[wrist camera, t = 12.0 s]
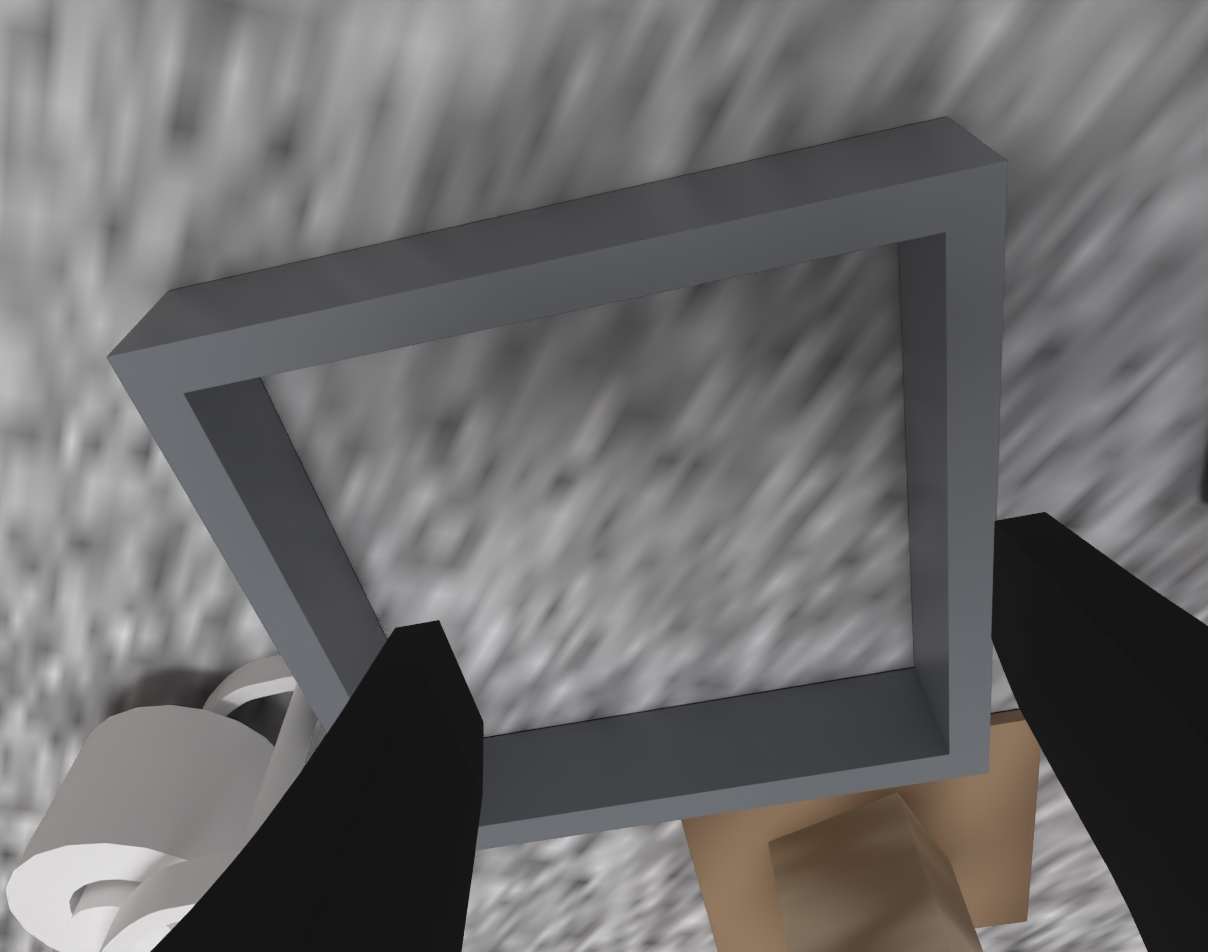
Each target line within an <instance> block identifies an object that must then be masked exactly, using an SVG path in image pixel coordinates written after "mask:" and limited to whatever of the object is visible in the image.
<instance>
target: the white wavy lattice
mask: <svg viewBox="0 0 1208 952" xmlns="http://www.w3.org/2000/svg"><path fill="white" fill-rule="evenodd" d="M287 691H294V692H293V695H292V698H291V701H290V704H289V707H288V710H287V712H286V715H285V718H284V721H283V724H282V727H281V730H280V733H279V736H278V739H277V742H276V745H275V747H274V746H273V745H272V744H271V743H270V742H269V741H268V740H267V739H266V738H265V737H263V736H262V735H260V734H259V733H257V732H255V731H254V730H252V729H250V728H249V727H247V726H246V725H244V724H242V723H241V722H239V721H236V720H233V719H231V718H228V717H226V716H227V715H228V714H229V713H230V712H232V711H233V710H234V709H236V708H237V707H239V706H240V705H242V704H244V703H245V702H248V701H250V700H253V699H256V698H261V697H265V696H269V695H274V694H278V693H283V692H287ZM317 721H318V718H317V716H316V714H315V713H314V711H313V709H312V708H311V706H310V704H309V703H308V701H307V699H306V697H305V696H304V694H303V692H302V691H301V689H300V687H299V685H298V684H297V682H296V680H295V679H294V677H293V675H292V673H291V672H290V670H289V668H288V667H287V665H286V663H285V662H284V660H283V658H282V656H281V655H280V654H279V655H275V656H270V657H266V658H261V659H257V660H254V661H252V662H249V663H247V664H245V665H243V666H242V667H240V668H239V669H237V670H236V671H234V672H233V673H231V674H230V675H229V676H228V677H227V678H225V679H224V680H223V681H222V683H221V684H220V685H219V686H218V687H217V688H216V689H215V690H214V691H213V692H212V694H211V695H210V696H209V697H208V699H207V701H206V703H205V704H204V706H203V708H202V709H196V708H189V707H182V706H175V705H164V706H149V707H137V708H134V709H131V710H128V711H125V712H122V713H119V714H116V715H113V716H110V717H109V718H108V719H106V720H105V721H104V722H102V723H101V724H100V725H99V726H97V727H96V728H95V729H94V730H92V731H91V733H90V734H89V736H88V738H87V740H86V742H85V743H84V745H83V747H82V749H81V751H80V752H79V754H78V756H77V758H76V760H75V761H74V763H73V765H72V767H71V769H70V770H69V772H68V774H67V776H66V778H65V779H64V781H63V783H62V785H61V787H60V788H59V790H58V792H57V794H56V796H55V797H54V799H53V801H52V803H51V805H50V806H49V808H48V810H47V812H46V814H45V815H44V817H43V819H42V821H41V823H40V824H39V826H38V828H37V830H36V832H35V833H34V835H33V837H32V839H31V841H30V842H29V844H28V846H27V848H26V850H25V851H24V853H23V855H22V857H21V859H20V861H19V862H18V864H17V866H16V868H15V870H14V872H13V874H12V876H11V878H10V881H9V883H8V885H7V887H6V893H7V898H8V903H9V908H10V911H11V912H12V913H13V914H14V916H15V917H16V918H17V920H18V921H19V922H20V923H21V925H22V926H23V927H24V928H25V930H26V931H28V932H29V933H31V934H32V935H34V936H35V937H36V938H38V939H39V940H41V941H42V942H44V943H45V944H46V945H48V946H49V947H51V948H53V951H52V952H150V951H151V950H152V949H153V948H154V947H155V946H156V945H157V944H158V943H159V942H160V941H161V940H162V939H163V938H164V937H165V936H166V935H167V934H168V933H169V932H170V931H171V930H172V929H173V928H174V927H175V925H176V924H177V923H178V922H179V921H180V920H181V919H182V918H183V917H184V916H185V915H186V914H187V913H188V912H189V911H190V910H191V909H192V908H193V906H194V905H195V904H196V903H197V902H198V901H199V900H200V899H201V898H202V896H203V895H204V894H205V893H206V892H207V891H208V889H209V888H210V887H211V886H212V885H213V884H214V882H215V881H216V880H217V879H218V878H219V877H220V876H221V874H222V873H223V872H224V871H225V870H226V869H227V867H228V866H229V865H230V864H231V863H232V862H233V860H234V859H235V858H236V857H237V856H238V854H239V853H240V852H241V851H242V849H243V848H244V847H245V846H246V844H247V843H248V842H249V841H250V839H251V838H252V837H253V836H254V834H255V833H256V832H257V831H258V829H259V828H260V827H261V825H262V824H263V823H264V821H265V820H266V819H267V817H268V816H269V815H270V813H271V812H272V810H273V809H274V808H275V806H276V805H277V804H278V802H279V801H280V800H281V798H282V797H283V795H284V794H285V793H286V791H287V790H288V789H289V787H290V786H291V785H292V783H293V782H294V780H295V779H296V778H297V776H298V775H299V774H300V772H301V771H302V769H303V767H304V764H305V760H306V757H307V754H308V750H309V747H310V744H311V740H312V737H313V734H314V731H315V727H316V724H317Z"/></svg>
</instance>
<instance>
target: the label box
mask: <svg viewBox="0 0 1208 952" xmlns="http://www.w3.org/2000/svg"><path fill="white" fill-rule="evenodd" d="M768 845H769V850H770V855H771V860H772V866H773V871H774V876H775V882H776V887H777V892H778V898H779V903H780V908H781V914H782V919H783V924H784V929H785V935H786V940H787V945H788V951H789V952H983V950H982V947H981V945H980V942H979V939H978V936H977V934H976V931H975V928H974V925H973V923H972V920H971V917H970V914H969V912H968V909H967V906H966V903H965V901H964V898H963V895H962V893H961V890H960V887H959V884H958V882H957V879H956V876H955V873H954V871H953V868H952V865H951V862H950V861H949V860H948V858H947V857H946V856H945V854H944V853H943V852H942V850H941V849H940V848H939V846H938V845H937V844H936V842H935V841H934V840H933V838H932V837H931V836H930V834H929V833H928V832H927V830H926V829H925V828H924V826H923V825H922V824H921V823H920V821H919V820H918V819H917V817H916V816H915V815H914V813H913V812H912V811H911V809H910V808H909V807H908V805H907V804H906V803H905V801H904V800H903V799H902V797H901V796H900V795H899V793H898V792H897V793H894V794H891V795H889V796H886V797H884V798H881V799H878V800H876V801H873V802H871V803H868V804H865V805H863V806H860V807H858V808H855V809H852V810H850V811H847V812H845V813H842V814H840V815H837V816H834V817H832V818H829V819H827V820H824V821H821V822H819V823H816V824H814V825H811V826H808V827H806V828H803V829H801V830H798V831H795V832H793V833H790V834H788V835H785V836H783V837H780V838H777V839H775V840H772V841H770V842H768Z"/></svg>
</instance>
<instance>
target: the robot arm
mask: <svg viewBox="0 0 1208 952" xmlns="http://www.w3.org/2000/svg"><path fill="white" fill-rule="evenodd" d="M991 639H992V642H993V644H994V647H995V649H996V652H997V654H998V657H999V659H1000V662H1001V665H1002V667H1003V670H1004V672H1005V675H1006V677H1007V680H1008V682H1009V685H1010V687H1011V689H1012V692H1013V694H1014V697H1015V699H1016V701H1017V704H1018V706H1019V709H1020V711H1021V713H1022V714H1023V716H1024V718H1025V720H1026V722H1027V724H1028V726H1029V727H1030V729H1031V731H1032V733H1033V735H1034V736H1035V738H1036V740H1037V742H1038V744H1039V746H1040V747H1041V749H1042V751H1043V753H1044V755H1045V756H1046V758H1047V760H1048V762H1049V764H1050V765H1051V767H1052V769H1053V771H1054V773H1055V774H1056V776H1057V778H1058V780H1059V781H1060V783H1061V785H1062V787H1063V789H1064V790H1065V792H1066V794H1067V796H1068V797H1069V799H1070V801H1071V803H1072V805H1073V806H1074V808H1075V810H1076V812H1077V813H1078V815H1079V817H1080V819H1081V821H1082V822H1083V824H1084V826H1085V828H1086V830H1087V831H1088V833H1089V835H1090V837H1091V838H1092V840H1093V842H1094V844H1095V846H1096V847H1097V849H1098V851H1099V853H1100V854H1101V856H1102V858H1103V860H1104V862H1105V863H1106V865H1107V867H1108V869H1109V871H1110V872H1111V874H1112V876H1113V878H1114V880H1115V882H1116V884H1117V886H1118V888H1119V890H1120V892H1121V894H1122V896H1123V898H1124V900H1125V902H1126V904H1127V906H1128V908H1129V910H1130V912H1131V915H1132V917H1133V919H1134V921H1135V924H1136V926H1137V928H1138V930H1139V933H1140V935H1141V937H1142V940H1143V942H1144V944H1145V946H1146V949H1147V951H1148V952H1208V626H1207V625H1206V624H1204V623H1203V622H1201V621H1200V620H1198V619H1197V618H1195V617H1194V616H1192V615H1191V614H1189V613H1188V612H1186V611H1185V610H1183V609H1182V608H1180V607H1179V606H1177V605H1176V604H1174V603H1173V602H1171V601H1170V600H1168V599H1167V598H1165V597H1164V596H1162V595H1161V594H1159V593H1158V592H1156V591H1155V590H1154V589H1152V588H1151V587H1149V586H1148V585H1146V584H1145V583H1143V582H1142V581H1141V580H1139V579H1138V578H1136V577H1135V576H1134V575H1132V574H1131V573H1129V572H1128V571H1127V570H1125V569H1124V568H1122V567H1121V566H1120V565H1118V564H1117V563H1115V562H1114V561H1112V560H1111V559H1110V558H1108V557H1107V556H1106V555H1104V554H1103V553H1101V552H1100V551H1099V550H1097V549H1096V548H1095V547H1093V546H1092V545H1090V544H1089V543H1088V542H1086V541H1085V540H1083V539H1082V538H1081V537H1079V536H1078V535H1077V534H1075V533H1074V532H1072V531H1071V530H1070V529H1068V528H1067V527H1065V526H1064V525H1063V524H1061V523H1060V522H1058V521H1057V520H1056V519H1054V518H1053V517H1051V516H1050V515H1049V514H1047V513H1046V512H1042V513H1037V514H1031V515H1025V516H1020V517H1014V518H1009V519H1003V520H997V521H995V522H994V557H993V591H992V625H991ZM482 796H483V720H482V718H481V715H480V713H479V711H478V709H477V706H476V704H475V702H474V699H473V697H472V695H471V692H470V690H469V688H468V686H467V683H466V681H465V679H464V676H463V674H462V672H461V669H460V667H459V665H458V663H457V660H456V658H455V656H454V653H453V651H452V649H451V646H450V644H449V642H448V640H447V637H446V635H445V633H444V630H443V628H442V626H441V623H440V621H439V620H437V621H431V622H426V623H420V624H415V625H409V626H403V627H398V628H395V629H394V631H393V632H392V634H391V635H390V637H389V638H388V640H387V641H386V643H385V644H384V646H383V647H382V649H381V650H380V652H379V653H378V655H377V656H376V658H375V660H374V661H373V663H372V664H371V666H370V667H369V669H368V671H367V672H366V674H365V675H364V677H363V679H362V680H361V682H360V683H359V685H358V686H357V688H356V690H355V691H354V693H353V694H352V696H351V697H350V699H349V700H348V702H347V704H346V705H345V707H344V708H343V710H342V711H341V713H340V714H339V716H338V717H337V719H336V720H335V722H334V723H333V725H332V726H331V728H330V729H329V731H328V732H327V734H326V735H325V737H324V738H323V740H322V741H321V743H320V744H319V746H318V747H317V749H316V750H315V752H314V753H313V755H312V756H311V758H310V759H309V761H308V762H307V764H306V765H305V767H304V768H303V769H302V771H301V772H300V774H299V775H298V776H297V778H296V779H295V780H294V782H293V783H292V785H291V786H290V787H289V789H288V790H287V791H286V793H285V794H284V795H283V797H282V798H281V800H280V801H279V802H278V804H277V805H276V806H275V808H274V809H273V810H272V812H271V813H270V815H269V816H268V817H267V819H266V820H265V821H264V823H263V824H262V825H261V827H260V828H259V829H258V831H257V832H256V833H255V834H254V836H253V837H252V838H251V839H250V841H249V842H248V843H247V844H246V846H245V847H244V848H243V849H242V851H241V852H240V853H239V854H238V856H237V857H236V858H235V859H234V860H233V862H232V863H231V864H230V865H229V866H228V867H227V869H226V870H225V871H224V872H223V873H222V874H221V876H220V877H219V878H218V879H217V880H216V881H215V882H214V884H213V885H212V886H211V887H210V888H209V889H208V891H207V892H206V893H205V894H204V895H203V896H202V898H201V899H200V900H199V901H198V902H197V903H196V904H195V905H194V906H193V908H192V909H191V910H190V911H189V912H188V913H187V914H186V915H185V916H184V917H183V918H182V919H181V920H180V921H179V922H178V923H177V924H176V925H175V927H174V928H173V929H172V930H171V931H170V932H169V933H168V934H167V935H166V936H165V937H164V938H163V939H162V940H161V941H160V942H159V943H158V944H157V945H156V946H155V947H154V948H153V949H152V950H151V951H150V952H461V951H462V944H463V936H464V929H465V922H466V915H467V908H468V900H469V893H470V886H471V879H472V872H473V865H474V857H475V850H476V843H477V835H478V828H479V820H480V812H481V804H482Z"/></svg>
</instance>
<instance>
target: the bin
mask: <svg viewBox="0 0 1208 952" xmlns="http://www.w3.org/2000/svg"><path fill="white" fill-rule="evenodd" d="M1007 163H1008V161H1007V160H1006V159H1004V158H1003V157H1002V156H1000V155H999V154H998V153H996V152H995V151H993V150H992V149H991V148H989V147H988V146H987V145H985V144H984V143H983V142H981V141H980V140H978V139H977V138H976V137H974V136H973V135H972V134H970V133H969V132H968V131H966V130H965V129H963V128H962V127H961V126H959V125H958V124H957V123H955V122H954V121H953V120H951V119H950V118H948V117H943V118H939V119H934V120H930V121H925V122H921V123H917V124H912V125H908V126H903V127H899V128H894V129H890V130H885V131H881V132H876V133H872V134H867V135H863V136H859V137H854V138H850V139H845V140H841V141H836V142H832V143H827V144H823V145H818V146H814V147H809V148H805V149H800V150H796V151H792V152H787V153H783V154H778V155H774V156H769V157H765V158H760V159H756V160H751V161H747V162H742V163H738V164H734V165H729V166H725V167H720V168H716V169H711V170H707V171H702V172H698V173H693V174H689V175H684V176H680V177H676V178H671V179H667V180H662V181H658V182H653V183H649V184H644V185H640V186H635V187H631V188H626V189H622V190H618V191H613V192H609V193H604V194H600V195H595V196H591V197H586V198H582V199H577V200H573V201H568V202H564V203H559V204H555V205H551V206H546V207H542V208H537V209H533V210H528V211H524V212H519V213H515V214H510V215H506V216H501V217H497V218H493V219H488V220H484V221H479V222H475V223H470V224H466V225H461V226H457V227H452V228H448V229H443V230H439V231H435V232H430V233H426V234H421V235H417V236H412V237H408V238H403V239H399V240H394V241H390V242H385V243H381V244H376V245H372V246H368V247H363V248H359V249H354V250H350V251H345V252H341V253H336V254H332V255H327V256H323V257H318V258H314V259H310V260H305V261H301V262H296V263H292V264H287V265H283V266H278V267H274V268H269V269H265V270H260V271H256V272H252V273H247V274H243V275H238V276H234V277H229V278H225V279H220V280H216V281H211V282H207V283H202V284H198V285H194V286H189V287H185V288H180V289H176V290H171V291H167V293H166V294H165V295H164V296H163V297H162V298H161V299H160V300H159V301H158V302H157V303H156V304H155V305H154V307H153V308H152V309H151V310H150V311H149V312H148V313H147V314H146V315H145V316H144V317H143V318H142V319H141V320H140V322H139V323H138V324H137V325H136V326H135V327H134V328H133V329H132V330H131V331H130V332H129V333H128V334H127V335H126V337H125V338H124V339H123V340H122V341H121V342H120V343H119V344H118V345H117V346H116V347H115V348H114V349H113V350H112V352H111V353H110V354H109V355H108V356H107V359H108V361H109V362H110V364H111V366H112V367H113V369H114V371H115V373H116V374H117V376H118V378H119V379H120V381H121V383H122V385H123V386H124V388H125V390H126V391H127V393H128V395H129V397H130V398H131V400H132V402H133V403H134V405H135V407H136V409H137V410H138V412H139V414H140V415H141V417H142V419H143V420H144V422H145V424H146V426H147V427H148V429H149V431H150V432H151V434H152V436H153V438H154V439H155V441H156V443H157V444H158V446H159V448H160V450H161V451H162V453H163V455H164V456H165V458H166V460H167V462H168V463H169V465H170V467H171V468H172V470H173V472H174V473H175V475H176V477H177V479H178V480H179V482H180V484H181V485H182V487H183V489H184V491H185V492H186V494H187V496H188V497H189V499H190V501H191V503H192V504H193V506H194V508H195V509H196V511H197V513H198V514H199V516H200V518H201V520H202V521H203V523H204V525H205V526H206V528H207V530H208V532H209V533H210V535H211V537H212V538H213V540H214V542H215V544H216V545H217V547H218V549H219V550H220V552H221V554H222V556H223V557H224V559H225V561H226V562H227V564H228V566H229V567H230V569H231V571H232V573H233V574H234V576H235V578H236V579H237V581H238V583H239V585H240V586H241V588H242V590H243V591H244V593H245V595H246V597H247V598H248V600H249V602H250V603H251V605H252V607H253V609H254V610H255V612H256V614H257V615H258V617H259V619H260V620H261V622H262V624H263V626H264V627H265V629H266V631H267V632H268V634H269V636H270V638H271V639H272V641H273V643H274V644H275V646H276V648H277V650H278V651H279V653H280V655H281V656H282V658H283V660H284V662H285V663H286V665H287V667H288V668H289V670H290V672H291V673H292V675H293V677H294V679H295V680H296V682H297V684H298V685H299V687H300V689H301V691H302V692H303V694H304V696H305V697H306V699H307V701H308V703H309V704H310V706H311V708H312V709H313V711H314V713H315V714H316V716H317V718H318V720H319V721H320V723H321V725H322V726H323V728H324V730H325V732H326V733H327V732H328V731H329V729H330V728H331V726H332V725H333V723H334V722H335V720H336V719H337V717H338V716H339V714H340V713H341V711H342V710H343V708H344V707H345V705H346V704H347V702H348V700H349V699H350V697H351V696H352V694H353V693H354V691H355V690H356V688H357V686H358V685H359V683H360V682H361V680H362V679H363V677H364V675H365V674H366V672H367V671H368V669H369V667H370V666H371V664H372V663H373V661H374V660H375V658H376V656H377V655H378V653H379V652H380V650H381V649H382V647H383V646H384V644H385V643H386V641H387V639H386V637H385V635H384V633H383V631H382V629H381V627H380V624H379V622H378V620H377V618H376V616H375V614H374V612H373V610H372V608H371V606H370V604H369V602H368V600H367V598H366V596H365V594H364V592H363V590H362V587H361V585H360V583H359V581H358V579H357V577H356V575H355V573H354V571H353V569H352V567H351V565H350V563H349V561H348V559H347V557H346V555H345V553H344V550H343V548H342V546H341V544H340V542H339V540H338V538H337V536H336V534H335V532H334V530H333V528H332V526H331V524H330V522H329V520H328V518H327V516H326V514H325V511H324V509H323V507H322V505H321V503H320V501H319V499H318V497H317V495H316V493H315V491H314V489H313V487H312V485H311V483H310V481H309V479H308V477H307V474H306V472H305V470H304V468H303V466H302V464H301V462H300V460H299V458H298V456H297V454H296V452H295V450H294V448H293V446H292V444H291V442H290V440H289V437H288V435H287V433H286V431H285V429H284V427H283V425H282V423H281V421H280V419H279V417H278V415H277V413H276V411H275V409H274V407H273V405H272V403H271V401H270V398H269V396H268V394H267V392H266V390H265V388H264V386H263V384H262V382H261V380H260V378H259V377H263V376H267V375H272V374H277V373H282V372H286V371H291V370H296V369H301V368H305V367H310V366H315V365H320V364H324V363H329V362H334V361H338V360H343V359H348V358H353V357H357V356H362V355H367V354H372V353H376V352H381V351H386V350H390V349H395V348H400V347H405V346H409V345H414V344H419V343H424V342H428V341H433V340H438V339H443V338H447V337H452V336H457V335H461V334H466V333H471V332H476V331H480V330H485V329H490V328H495V327H499V326H504V325H509V324H514V323H518V322H523V321H528V320H532V319H537V318H542V317H547V316H551V315H556V314H561V313H566V312H570V311H575V310H580V309H584V308H589V307H594V306H599V305H603V304H608V303H613V302H618V301H622V300H627V299H632V298H637V297H641V296H646V295H651V294H655V293H660V292H665V291H670V290H674V289H679V288H684V287H689V286H693V285H698V284H703V283H708V282H712V281H717V280H722V279H726V278H731V277H736V276H741V275H745V274H750V273H755V272H760V271H764V270H769V269H774V268H778V267H783V266H788V265H793V264H797V263H802V262H807V261H812V260H816V259H821V258H826V257H831V256H835V255H840V254H845V253H849V252H854V251H859V250H864V249H868V248H873V247H878V246H883V245H887V244H892V243H897V242H898V243H899V270H900V297H901V324H902V351H903V377H904V404H905V431H906V458H907V485H908V511H909V538H910V565H911V592H912V619H913V646H914V668H911V669H905V670H898V671H892V672H886V673H880V674H874V675H868V676H862V677H856V678H850V679H843V680H837V681H831V682H825V683H819V684H813V685H807V686H801V687H795V688H788V689H782V690H776V691H770V692H764V693H758V694H752V695H746V696H740V697H734V698H727V699H721V700H715V701H709V702H703V703H697V704H691V705H685V706H679V707H672V708H666V709H660V710H654V711H648V712H642V713H636V714H630V715H624V716H618V717H611V718H605V719H599V720H593V721H587V722H581V723H575V724H569V725H563V726H556V727H550V728H544V729H538V730H532V731H526V732H520V733H514V734H508V735H502V736H495V737H489V738H483V796H482V804H481V812H480V820H479V828H478V835H477V843H476V850H481V849H488V848H495V847H501V846H508V845H514V844H521V843H528V842H534V841H541V840H548V839H554V838H561V837H567V836H574V835H581V834H587V833H594V832H601V831H607V830H614V829H621V828H627V827H634V826H640V825H647V824H654V823H660V822H667V821H674V820H680V819H687V818H693V817H700V816H707V815H713V814H720V813H727V812H733V811H740V810H746V809H753V808H760V807H766V806H773V805H780V804H786V803H793V802H799V801H806V800H813V799H819V798H826V797H833V796H839V795H846V794H852V793H859V792H866V791H872V790H879V789H886V788H892V787H899V786H905V785H912V784H919V783H925V782H932V781H939V780H945V779H952V778H958V777H965V776H972V775H978V774H985V773H989V750H990V717H991V684H992V652H993V642H992V639H991V625H992V591H993V557H994V522H995V521H997V489H998V456H999V424H1000V391H1001V358H1002V326H1003V293H1004V261H1005V228H1006V195H1007Z"/></svg>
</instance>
